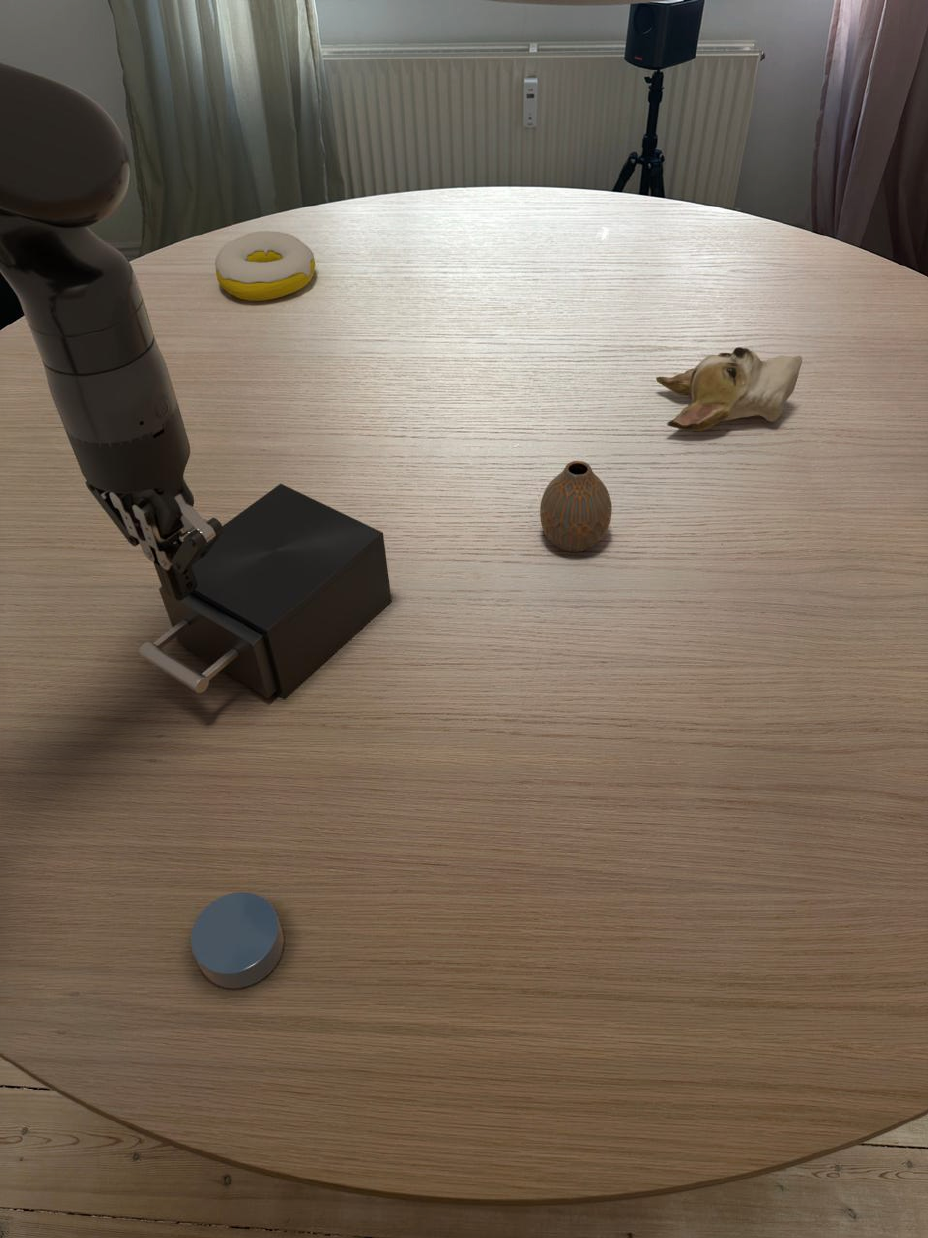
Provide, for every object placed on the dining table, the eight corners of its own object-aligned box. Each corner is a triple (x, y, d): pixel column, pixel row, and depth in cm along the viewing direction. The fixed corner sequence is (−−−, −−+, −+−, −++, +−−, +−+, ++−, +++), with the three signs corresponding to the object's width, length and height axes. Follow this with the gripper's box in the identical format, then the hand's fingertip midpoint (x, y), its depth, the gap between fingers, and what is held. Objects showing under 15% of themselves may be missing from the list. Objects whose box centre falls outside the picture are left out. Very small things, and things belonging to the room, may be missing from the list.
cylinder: (212, 1004, 66) (204, 989, 65) (188, 930, 70) (180, 914, 68) (296, 964, 68) (290, 948, 66) (268, 895, 72) (262, 878, 70)
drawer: (226, 736, 81) (207, 682, 76) (135, 676, 86) (113, 622, 81) (370, 606, 91) (362, 551, 86) (281, 559, 96) (269, 505, 91)
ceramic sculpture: (816, 369, 102) (670, 381, 103) (804, 439, 108) (666, 449, 109) (793, 318, 109) (657, 330, 110) (782, 386, 115) (654, 396, 117)
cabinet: (284, 699, 85) (266, 630, 79) (185, 638, 90) (161, 570, 84) (392, 601, 93) (383, 532, 87) (295, 551, 98) (280, 482, 92)
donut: (219, 265, 143) (211, 231, 139) (313, 254, 144) (308, 220, 141) (219, 311, 133) (211, 276, 130) (321, 299, 135) (316, 264, 131)
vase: (567, 571, 95) (571, 500, 89) (525, 533, 99) (526, 463, 93) (623, 543, 97) (630, 472, 91) (579, 507, 101) (584, 437, 95)
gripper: (12, 402, 67) (91, 586, 79) (140, 468, 61) (204, 655, 73) (100, 352, 71) (162, 535, 83) (228, 410, 65) (274, 597, 77)
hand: (182, 591), depth 78 cm, fingers closed
